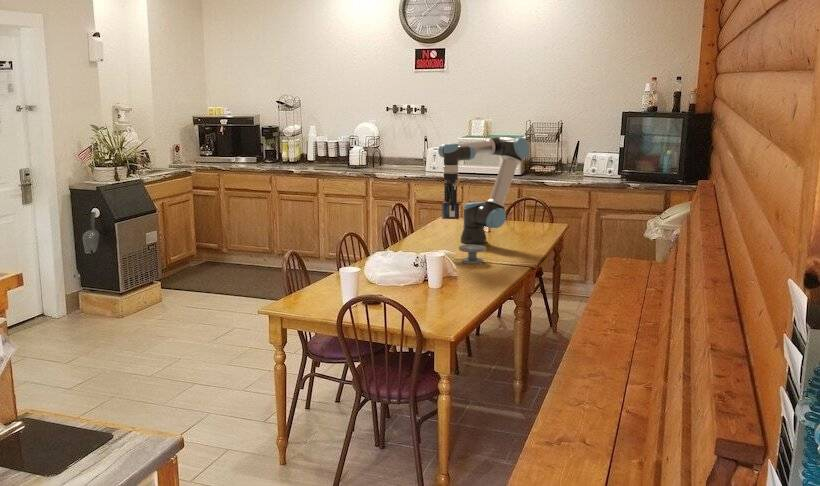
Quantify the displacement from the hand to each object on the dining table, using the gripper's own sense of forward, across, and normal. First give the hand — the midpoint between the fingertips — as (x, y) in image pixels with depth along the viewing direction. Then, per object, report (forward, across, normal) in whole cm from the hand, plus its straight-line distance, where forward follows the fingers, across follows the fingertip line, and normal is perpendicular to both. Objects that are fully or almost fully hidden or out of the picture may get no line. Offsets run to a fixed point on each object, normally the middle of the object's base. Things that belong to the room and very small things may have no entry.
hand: (450, 215), depth 396 cm
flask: (+2, 0, 0) cm, 2 cm away
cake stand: (+21, +22, +4) cm, 30 cm away
